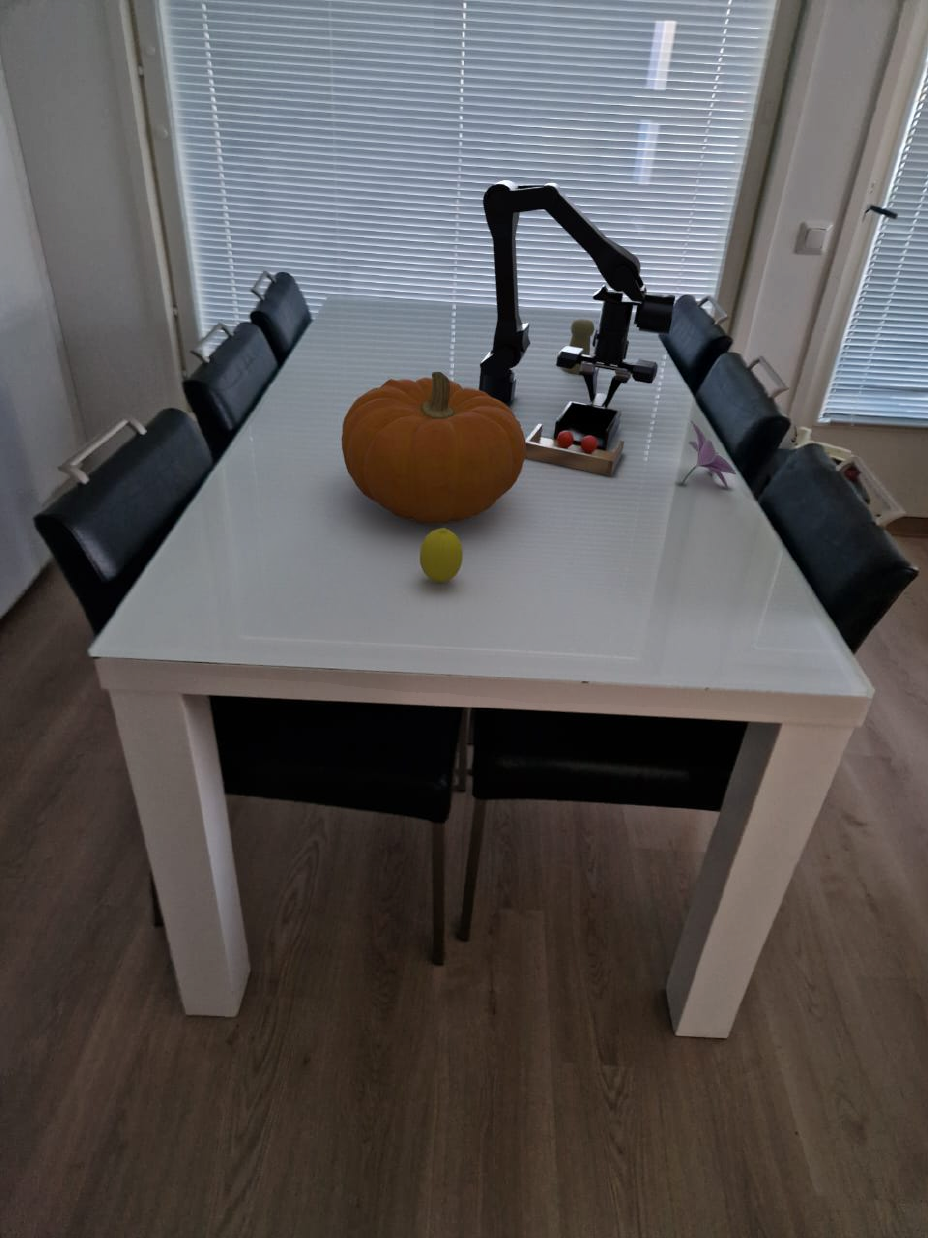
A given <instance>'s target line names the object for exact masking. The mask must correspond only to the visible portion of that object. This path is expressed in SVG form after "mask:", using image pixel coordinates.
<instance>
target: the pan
mask: <svg viewBox="0 0 928 1238" xmlns="http://www.w3.org/2000/svg"><path fill="white" fill-rule="evenodd" d="M607 394H608V393H607ZM607 394H606V393H602V392H596V396H595V398H594V399H593V401H592V402H591V403H590V404H588V403H582V402H578V401H572V400H570V401H569V402H568V403H567V404H566V406H565V408H564V409H563V410H562V412H561V413H560V414H559V416H558V417H557V418H556V420H555V424H554V432H553V440H557V437H558V435H559V433H560V432H562V431H569V432H571V433H572V435H573V437H574V441H573V444H577V445H581V441H582V439H583V438H584V437H586V436H593V437H594V438H595V439H596V440H597V443H598V445H597V448H596V449H600V450H607V449H608V447H609V446H610V443H611V442H612V439H613V438H614V436H615V435H616V432H617V431H618V429H619V424H620V419H621V414H622V411H621V410H618V409H613V408H609V407H607V408H604V406H605V401H606V397H607Z"/></svg>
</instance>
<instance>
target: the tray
mask: <svg viewBox="0 0 928 1238" xmlns="http://www.w3.org/2000/svg"><path fill="white" fill-rule="evenodd" d="M543 427H544V426H543V423H538V424H537V425H536V426H535V427H534V429H533V430H532V431H531V432H530V434H529V435H528V436H527V437H526V438H525V442H526V456H525V459H529V460H533V461H538V462H542V463H548V464H552V465H556V466H557V465H558V466H561V467H566V468H571V469H575V470H579V471H583V472H584V471H585V472H587V473H588V472H589V473H593V474H598V475H603V476H607V477H611V476H612V475H613V473H614V471H615V469H616V467H617V465H618V463H619V461H620V459H621V457H622V455H623V450H624V446H625V441H624V440H619V442H618V443H617V445H616V447H615V449H614V450H613V451H608V450H605V449H600V448H596V450H595V451H593V452H591V453H586V452H584V451H583V450H582V448H581V444H576V443H573V444H572V445H571V446H570V447H567V448H563V447H561V446H560V445H559V444H558V442H557V439H553V438H547V437H542V432H543Z"/></svg>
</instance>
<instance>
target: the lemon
mask: <svg viewBox="0 0 928 1238" xmlns="http://www.w3.org/2000/svg"><path fill="white" fill-rule="evenodd" d="M419 552H420V553H419V564H420V568H421V570H422V572H423V573H424V574H425V576H426V577H427V578H428V579H430V580H432V581H435V582H436V583H438V584H441V583H443V582H448V581H450V580H452V579H453V578H454V577H455V576H457V574H458V573H459V572H460V570H461V567H462V564H463V558H464V553H463V546H462V543H461V539H460V538H459V537H458V536H457V534H456V533H454V532H453V531H452V530H449V529H447V528H445V527H441V528H437V529H435V530H434V529H433V530H432V531H430V532H429V533H428V534H426V536H425V537H424V539H423V541H422V543H421V546H420V551H419Z"/></svg>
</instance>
